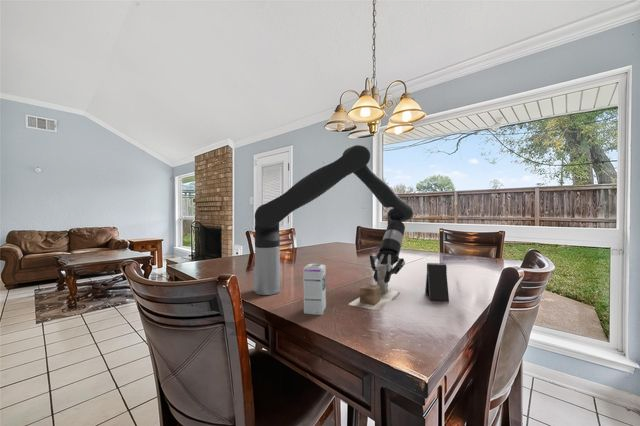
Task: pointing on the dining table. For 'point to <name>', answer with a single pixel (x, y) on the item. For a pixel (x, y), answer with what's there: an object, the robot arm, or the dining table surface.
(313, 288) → the syrup box
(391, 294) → the pale base with post
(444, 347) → the dining table surface
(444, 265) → the door stopper
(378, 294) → the walnut block
